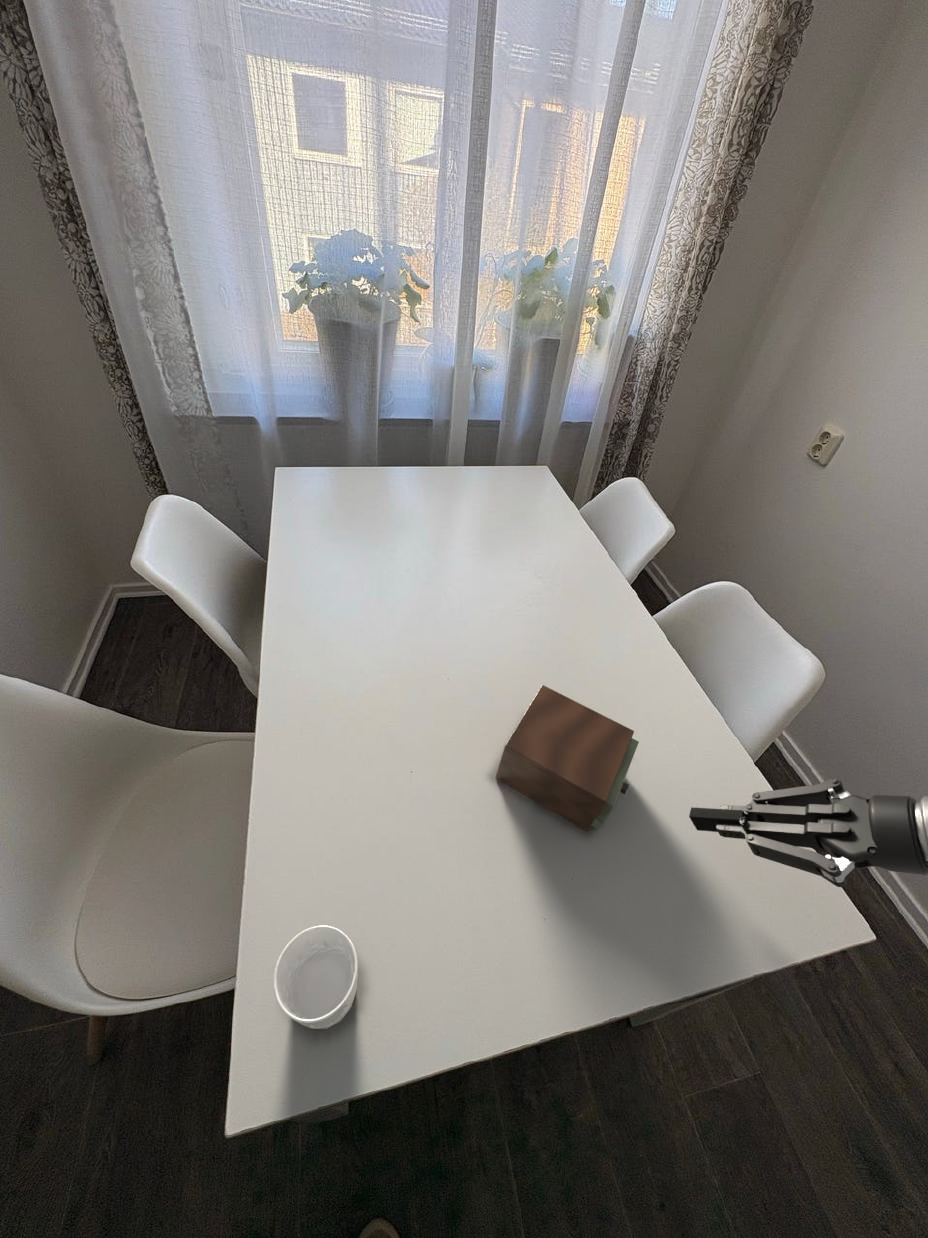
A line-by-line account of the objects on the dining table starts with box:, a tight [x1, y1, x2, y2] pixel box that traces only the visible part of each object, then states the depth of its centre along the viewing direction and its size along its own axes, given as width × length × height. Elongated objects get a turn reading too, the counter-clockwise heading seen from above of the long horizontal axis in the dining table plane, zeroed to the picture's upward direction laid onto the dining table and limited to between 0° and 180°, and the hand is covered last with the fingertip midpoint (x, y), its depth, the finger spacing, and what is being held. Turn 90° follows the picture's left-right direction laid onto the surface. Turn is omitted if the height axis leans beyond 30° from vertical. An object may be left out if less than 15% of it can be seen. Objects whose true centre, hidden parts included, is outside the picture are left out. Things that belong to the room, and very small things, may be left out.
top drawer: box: [590, 737, 640, 830], centre depth 75 cm, size 15×12×7 cm
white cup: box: [272, 925, 359, 1030], centre depth 53 cm, size 8×8×10 cm
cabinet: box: [495, 684, 635, 832], centre depth 75 cm, size 15×13×9 cm
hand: (694, 818), depth 69 cm, fingers closed
